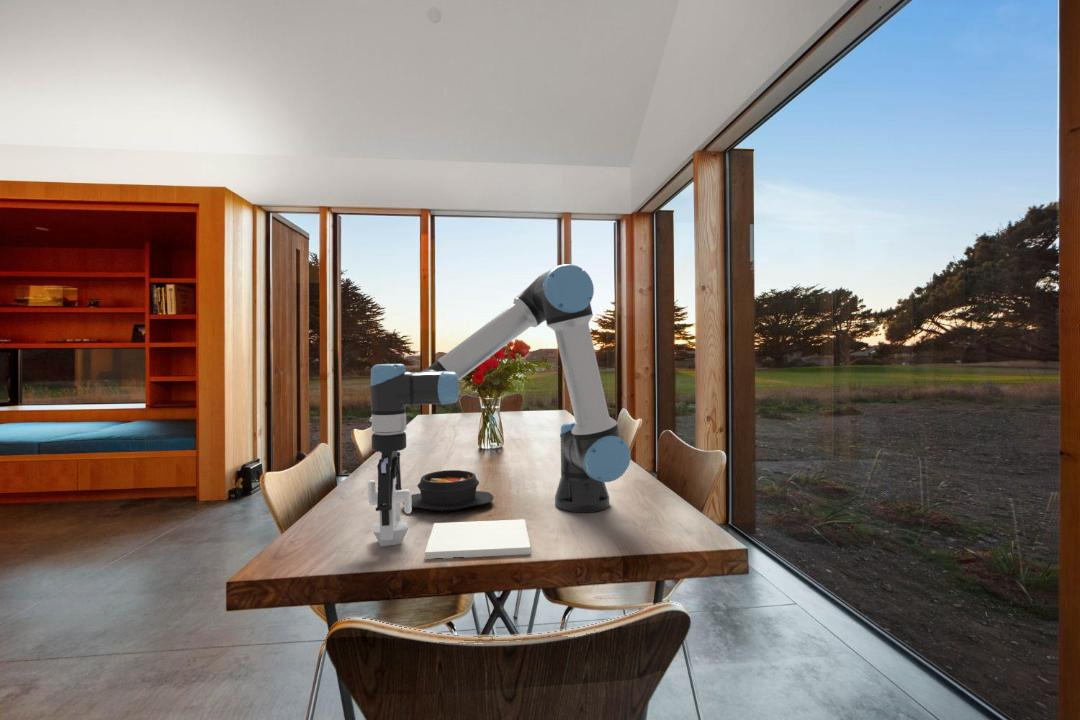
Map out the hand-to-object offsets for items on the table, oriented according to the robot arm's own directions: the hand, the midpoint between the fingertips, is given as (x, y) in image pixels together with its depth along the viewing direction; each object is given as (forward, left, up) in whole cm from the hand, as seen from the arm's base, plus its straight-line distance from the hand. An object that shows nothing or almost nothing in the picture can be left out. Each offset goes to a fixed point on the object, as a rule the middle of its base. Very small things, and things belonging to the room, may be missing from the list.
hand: (390, 531), depth 117 cm
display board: (-20, +2, -2) cm, 20 cm away
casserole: (-11, -26, -3) cm, 28 cm away
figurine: (0, 0, -2) cm, 2 cm away
